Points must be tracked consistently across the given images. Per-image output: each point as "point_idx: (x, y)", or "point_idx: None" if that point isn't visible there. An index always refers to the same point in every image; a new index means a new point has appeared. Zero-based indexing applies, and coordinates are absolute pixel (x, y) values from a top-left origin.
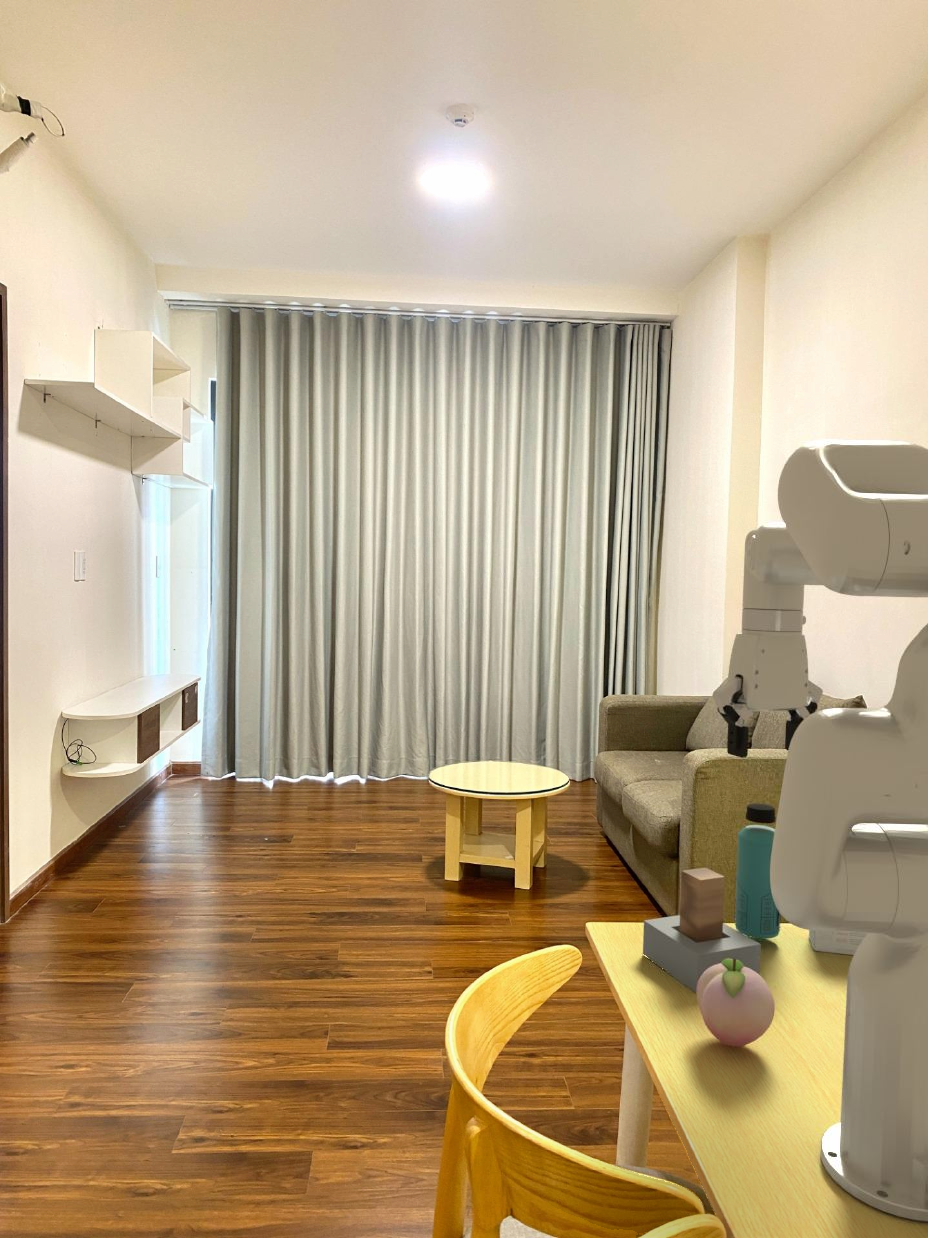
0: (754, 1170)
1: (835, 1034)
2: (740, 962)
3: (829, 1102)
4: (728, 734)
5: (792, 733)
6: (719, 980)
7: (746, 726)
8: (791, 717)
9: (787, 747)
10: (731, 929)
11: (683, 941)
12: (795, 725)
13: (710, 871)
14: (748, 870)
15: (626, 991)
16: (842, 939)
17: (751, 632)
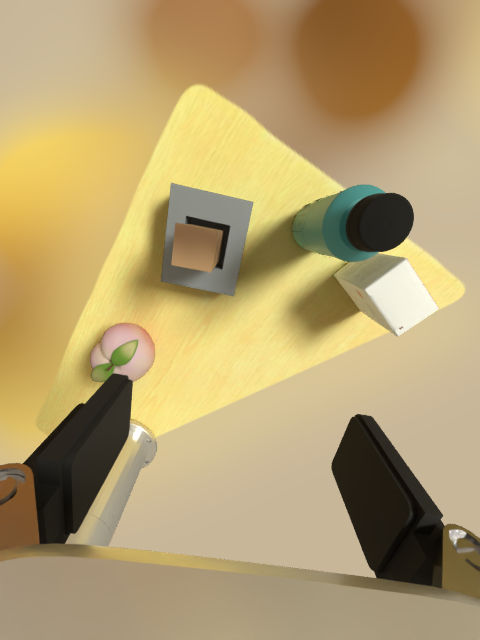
0: (65, 412)
1: (213, 364)
2: (126, 361)
3: (144, 401)
4: (49, 440)
5: (370, 490)
6: (94, 364)
7: (62, 539)
8: (423, 558)
9: (352, 428)
10: (238, 256)
11: (170, 251)
12: (383, 539)
13: (210, 247)
14: (309, 230)
15: (118, 239)
16: (352, 296)
17: None
